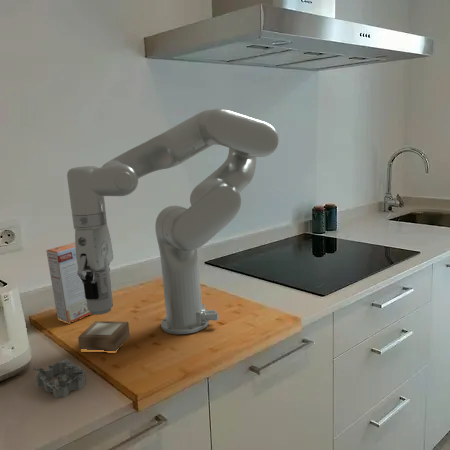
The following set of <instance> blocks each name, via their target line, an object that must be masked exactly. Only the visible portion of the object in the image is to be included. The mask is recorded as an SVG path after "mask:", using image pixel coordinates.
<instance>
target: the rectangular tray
mask: <svg viewBox="0 0 450 450" xmlns="http://www.w3.org/2000/svg"><path fill="white" fill-rule="evenodd" d="M130 338H131V333H130V324H129V321H115V320H114V321H112V320H111V321H108V320H106V321H105V320H104V321H103V320H102V321H101V320H98V321H97V320H95V321H94V322H92V323H91V325H89V326H88V327H87V328H86V329H85V330H83V332H82V333H81V334H80V335H79V336H78V344H79V350H80V349H87V350H104V351H116V350H117V349H118V348H120V346H121V345H122V344H123V343H124V342H125V341H126V340H127V341H128V339H130ZM127 341H126V342H127ZM126 342H125V343H126ZM125 343H124V344H125ZM124 344H123V345H124ZM123 345H122V346H123ZM120 349H121V348H120Z"/></svg>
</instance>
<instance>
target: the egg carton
mask: <svg viewBox="0 0 450 450" xmlns="http://www.w3.org/2000/svg"><path fill="white" fill-rule="evenodd" d="M32 370H33V371H35V373H37V375H36V377H35V380H36V381H35V382H36V384H37V387H39V388H42V387H43V388H44V391H45V392H46V393H51V392H52V393H53V397H54V399H55V398H56V399H58V398H66V397H68V396H69V393H70V392H71V391H74V390H77V391H79V390H82V389H84V385H86V380H85V373H86V371H87V370H86V369H85V370H84V369H82V368H81V367H80V366H79V365H76V364H75V363H72V361H71V360H70V359H67V358H65V359H63V360H61V361H58V362H57V361H56V362H55V364H53V365H52V364H50V365H48V368H47V369H45V370H44V368H43V367H38V368H37V367H35V366H33V368H32ZM55 375H57V376H56V377H57V379H54V378H55ZM52 379H54V380H52ZM50 380H52V381H51V382H50ZM48 381H49V382H48ZM57 385H58V386H57Z"/></svg>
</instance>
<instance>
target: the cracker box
mask: <svg viewBox="0 0 450 450" xmlns="http://www.w3.org/2000/svg"><path fill="white" fill-rule="evenodd" d="M46 256H47V263H48V268H49V274H50V281H51V287H52V291H53V299H54V305H55V310H56V317H57V319H58V318H59V319H61V320H63V321H66V322H68V323H69V322H72V321H75V320H78V319H80V318H82V317H85V316H87V317H89V316H88V315H90V314H91V313H90V311H89V310H88V309H87V301H86V298H85V291H84V284H83V283H82V280H81V278H80V277H79V276H78V275H77V271H78V265H77V259H76V247H75V241H74V242H71V243H68V244H64V245H60V246H57V247H53V248H49V249H47V250H46ZM90 316H91V315H90ZM85 318H86V317H85ZM80 320H81V319H80ZM78 321H79V320H78ZM75 322H76V321H75Z"/></svg>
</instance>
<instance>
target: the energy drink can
mask: <svg viewBox="0 0 450 450" xmlns="http://www.w3.org/2000/svg"><path fill="white" fill-rule="evenodd" d="M109 268H110V265H109V266H108V257H107V256H106V257H104V267H103V268H102V269H101V270H99V271H96V280H95V282H97V284H98V292H99V298H98V299H86V301H87V309H88V310H89V311H90V313H91V314H92V315H97V316H99V315H105V314H107V313H111V310H112V308H113V307H114V301H113V293H112V292H113V291H112V283H110V281H111V275H110V274H109V273H110V272H109ZM86 270H92V269H91V268H90V267H86ZM87 274H89V275H90V276H91V272H87Z"/></svg>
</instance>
